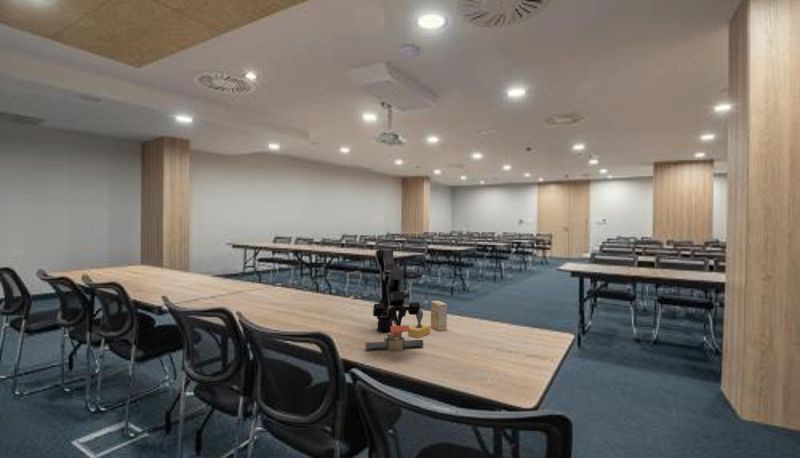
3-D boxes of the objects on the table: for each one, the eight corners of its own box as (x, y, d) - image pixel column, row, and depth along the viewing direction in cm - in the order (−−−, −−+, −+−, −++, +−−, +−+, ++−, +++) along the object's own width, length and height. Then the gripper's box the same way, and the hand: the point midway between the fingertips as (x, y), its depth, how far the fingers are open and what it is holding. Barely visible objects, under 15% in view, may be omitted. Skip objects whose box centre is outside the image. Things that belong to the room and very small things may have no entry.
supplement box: (430, 326, 194) (430, 301, 193) (438, 325, 196) (438, 300, 195) (438, 331, 186) (438, 304, 186) (447, 330, 188) (447, 303, 188)
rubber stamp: (417, 338, 175) (417, 312, 175) (407, 336, 179) (407, 310, 179) (430, 333, 183) (430, 308, 182) (420, 331, 187) (420, 306, 186)
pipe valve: (365, 348, 162) (365, 334, 162) (421, 344, 166) (421, 331, 166) (366, 352, 157) (366, 338, 157) (423, 348, 161) (423, 335, 161)
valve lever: (385, 333, 162) (391, 326, 148) (402, 332, 163) (408, 325, 150) (386, 338, 161) (391, 331, 148) (402, 337, 162) (409, 330, 149)
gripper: (373, 283, 154) (377, 318, 144) (419, 282, 158) (425, 316, 147) (371, 299, 162) (374, 332, 152) (414, 297, 166) (420, 330, 155)
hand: (399, 327), depth 151 cm, fingers closed, pressing on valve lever
